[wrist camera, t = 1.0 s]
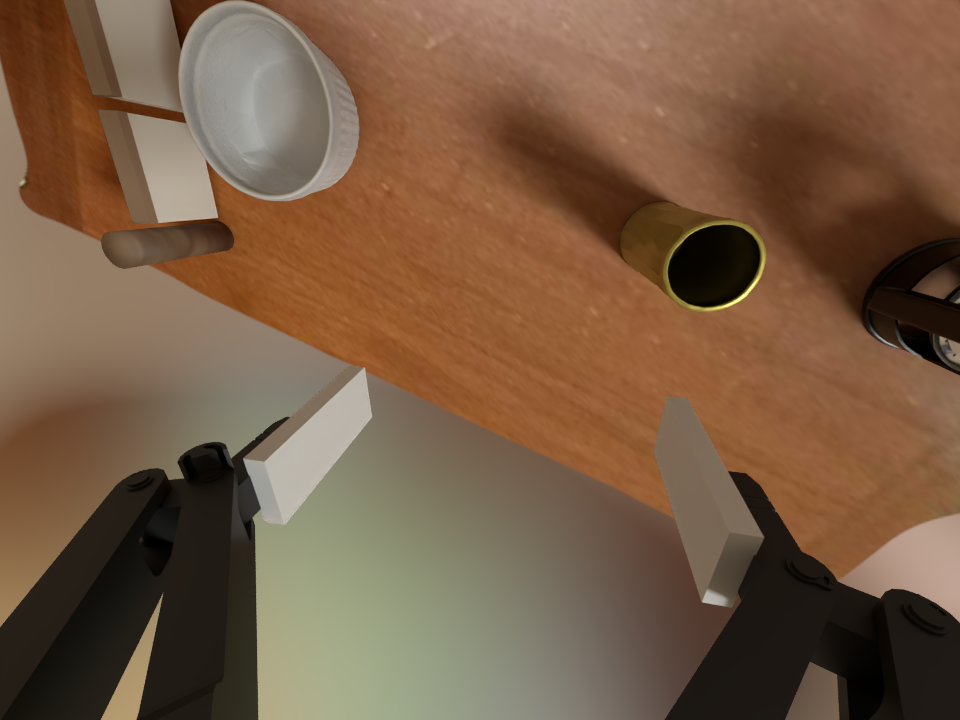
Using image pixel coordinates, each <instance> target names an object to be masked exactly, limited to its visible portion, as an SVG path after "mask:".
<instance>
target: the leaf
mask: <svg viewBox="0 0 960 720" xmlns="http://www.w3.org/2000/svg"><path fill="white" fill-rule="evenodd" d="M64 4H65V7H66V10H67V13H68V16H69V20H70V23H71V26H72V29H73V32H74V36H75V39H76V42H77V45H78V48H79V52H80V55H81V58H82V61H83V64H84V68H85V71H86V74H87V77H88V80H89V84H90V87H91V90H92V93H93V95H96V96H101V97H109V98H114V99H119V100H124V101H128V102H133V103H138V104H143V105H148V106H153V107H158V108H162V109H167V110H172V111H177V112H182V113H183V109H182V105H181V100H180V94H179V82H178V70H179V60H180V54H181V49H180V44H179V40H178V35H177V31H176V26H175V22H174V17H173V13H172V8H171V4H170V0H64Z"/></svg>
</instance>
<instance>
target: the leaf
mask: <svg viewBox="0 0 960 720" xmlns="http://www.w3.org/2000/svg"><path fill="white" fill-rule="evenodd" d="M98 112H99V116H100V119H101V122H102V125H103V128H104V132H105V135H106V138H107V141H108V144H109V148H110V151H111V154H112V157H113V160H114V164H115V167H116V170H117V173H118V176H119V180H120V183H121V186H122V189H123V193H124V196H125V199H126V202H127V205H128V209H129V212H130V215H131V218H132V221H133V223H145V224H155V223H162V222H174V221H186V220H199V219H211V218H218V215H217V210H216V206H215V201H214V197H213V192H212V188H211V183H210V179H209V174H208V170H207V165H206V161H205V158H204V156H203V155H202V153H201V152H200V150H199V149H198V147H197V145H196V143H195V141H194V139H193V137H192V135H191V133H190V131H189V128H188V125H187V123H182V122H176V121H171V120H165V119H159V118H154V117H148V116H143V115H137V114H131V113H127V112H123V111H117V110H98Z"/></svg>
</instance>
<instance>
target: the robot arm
mask: <svg viewBox="0 0 960 720" xmlns="http://www.w3.org/2000/svg"><path fill="white" fill-rule="evenodd" d="M371 418H372V414H371V407H370V400H369V394H368V387H367V380H366V374H365V367H356V366H349V367H348V368H347V369H345V370H344V371H343V372H342V373H341V374H340V375H338V376H337V377H336V378H335V379H334V380H333V381H332V382H330V383H329V384H328V385H327V386H326V387H325V388H323V389H322V390H321V391H320V392H319V393H318V394H317V395H316V396H314V397H313V398H312V399H311V400H310V401H309V402H308V403H306V404H305V405H304V406H303V407H302V408H301V409H299V410H298V411H297V412H296V413H295V414H294V415H292V416H291V417H285V418H283V419H281V420H279V421H277V422H275V423H273V424H272V425H271V426H270V427H268V428H267V429H266V430H265V431H264V432H263V434H260V435H259V436H258V437H256V438H255V440H253V441H252V442H251V443H249V444H248V445H247V446H246V447H245V448H243V449H242V450H241V451H240V452H239V453H237V454H236V455H235V456H234V457H233V458H232V459H231V458H230V455H229V452H228V450H227V447H226V445H225V444H223V443H221V442H211V443H205V444H202V445H199V446H196V447H194V448H192V449H190V450H188V451H187V452H186V453H184V454H183V455H182V456H181V457H180V458H179V460H178V465H179V467H180V469H181V471H182V473H183V476H184V479H174V480H168V478H167V476H166V474H165V472H164V470H162V469H159V468H156V469H148V470H143V471H139V472H137V473H134V474H132V475H130V476H129V477H127V478H125V479H124V480H122V481H121V482H120V483H118V484H117V485H116V486H115V488H114V489H113V490H112V491H111V492H110V494H109V495H108V496H107V497H106V498H105V500H104V501H103V502H102V503H101V505H100V506H99V507H98V508H97V509H96V511H95V512H94V513H93V514H92V516H91V517H90V518H89V519H88V521H87V522H86V523H85V524H84V525H83V527H82V528H81V529H80V530H79V531H78V533H77V534H76V535H75V536H74V538H73V539H72V540H71V541H70V543H69V544H68V545H67V546H66V547H65V549H64V550H63V551H62V552H61V554H60V555H59V556H58V557H57V558H56V560H55V561H54V562H53V563H52V565H51V566H50V567H49V568H48V569H47V571H46V572H45V573H44V574H43V576H42V577H41V578H40V579H39V581H38V582H37V583H36V584H35V585H34V587H33V588H32V589H31V590H30V591H29V593H28V594H27V595H26V596H25V598H24V599H23V600H22V601H21V602H20V604H19V605H18V606H17V607H16V609H15V610H14V611H13V612H12V613H11V615H10V616H9V617H8V618H7V620H6V621H5V622H4V623H3V625H2V626H1V627H0V720H101V718H102V716H103V714H104V712H105V710H106V708H107V706H108V704H109V702H110V700H111V698H112V695H113V694H114V692H115V690H116V688H117V686H118V683H119V681H120V679H121V677H122V675H123V673H124V671H125V669H126V667H127V665H128V663H129V661H130V659H131V657H132V655H133V653H134V651H135V649H136V647H137V645H138V643H139V641H140V639H141V637H142V635H143V633H144V631H145V629H146V627H147V624H148V622H149V620H150V618H151V616H152V614H153V612H154V610H155V608H156V606H157V604H158V602H159V600H160V598H161V596H162V594H163V598H162V603H161V608H160V613H159V617H158V622H157V627H156V632H155V637H154V642H153V647H152V651H151V656H150V661H149V666H148V670H147V675H146V680H145V685H144V690H143V695H142V700H141V704H140V709H139V713H138V717H137V720H258V685H257V684H258V682H257V628H256V627H257V623H256V562H255V524H254V521H253V519H252V517H253V516H254V515H255V514H256V513H257V512H258V511H259V510H261V513H262V515H263V518H264V521H265V522H269V523H275V524H280V525H285V524H286V522H287V521H288V520H289V519H290V518H291V517H292V515H293V514H294V513H295V512H296V510H297V509H298V508H299V507H300V505H301V504H302V503H303V502H304V500H305V499H306V498H307V497H308V495H309V494H310V493H311V492H312V491H313V489H314V488H315V487H316V486H317V484H318V483H319V482H320V481H321V479H322V478H323V477H324V476H325V474H326V473H327V472H328V471H329V470H330V468H331V467H332V466H333V465H334V463H335V462H336V461H337V460H338V458H339V457H340V456H341V455H342V453H343V452H344V451H345V450H346V448H347V447H348V446H349V445H350V444H351V442H352V441H353V440H354V438H355V437H356V436H357V435H358V434H359V433H360V431H361V430H362V429H363V428H364V426H365V425H366V424H367V423H368V421H369V420H370V419H371ZM654 454H655V457H656V460H657V463H658V467H659V470H660V473H661V476H662V479H663V482H664V485H665V488H666V492H667V495H668V498H669V501H670V504H671V507H672V510H673V513H674V517H675V520H676V523H677V526H678V529H679V532H680V535H681V539H682V541H683V544H684V548H685V551H686V554H687V557H688V560H689V564H690V567H691V570H692V573H693V576H694V579H695V582H696V585H697V588H698V592H699V595H700V598H701V601H702V602H704V603H710V604H715V605H721V606H726V607H731V608H732V607H733V605H734V602H735V600H736V598H737V595H738V594H739V596H740V599H741V603H740V604H739V606H738V607H737V609H736V610H735V612H734V613H733V615H732V617H731V618H730V620H729V621H728V623H727V624H726V626H725V627H724V629H723V630H722V632H721V634H720V635H719V637H718V638H717V640H716V641H715V643H714V644H713V646H712V647H711V649H710V651H709V652H708V654H707V655H706V657H705V658H704V660H703V661H702V663H701V664H700V666H699V667H698V669H697V671H696V672H695V674H694V675H693V677H692V678H691V680H690V682H689V683H688V684H687V686H686V688H685V689H684V691H683V692H682V694H681V695H680V697H679V698H678V700H677V702H676V703H675V705H674V706H673V708H672V709H671V711H670V712H669V714H668V715H667V717H666V719H665V720H785V718H786V716H787V713H788V711H789V709H790V706H791V704H792V702H793V699H794V697H795V695H796V692H797V690H798V687H799V685H800V683H801V681H802V678H803V676H804V674H805V671H806V669H807V667H808V664H809V662H812V663H814V664H816V665H818V666H820V667H822V668H824V669H827V670H829V671H831V672H833V673H835V674H837V680H838V699H839V717H840V720H960V623H959V622H958V621H957V620H956V619H955V618H954V617H953V616H952V615H951V614H950V613H949V612H947V611H946V610H944V609H943V608H942V607H940V606H939V605H937V604H936V603H934V602H932V601H930V600H929V599H927V598H925V597H923V596H920V595H919V594H915V593H913V592H910V591H907V590H901V589H891V590H889V591H886V592H885V593H884V594H883V596H882V597H881V599H880V598H877V597H875V596H872V595H869V594H867V593H864V592H862V591H859V590H856V589H854V588H851V587H849V586H846V585H844V584H842V583H840V582H837V580H836V578H835V576H834V575H833V574H832V573H831V571H830V570H829V569H828V568H827V567H826V566H825V565H823V564H822V563H821V562H819V561H818V560H816V559H815V558H813V557H812V556H810V555H807V554H805V553H803V552H802V551H801V550H800V548H799V546H798V545H797V543H796V542H795V540H794V539H793V537H792V535H791V534H790V532H789V531H788V529H787V527H786V526H785V524H784V523H783V521H782V520H781V518H780V516H779V515H778V513H777V512H775V508H774V507H773V505H772V504H771V502H770V501H768V497H767V496H766V494H765V493H764V491H763V489H762V488H761V486H760V485H759V484H758V483H756V482H755V481H754V480H753V479H752V478H751V477H750V476H748V475H747V474H746V473H739V472H731V471H727V469H726V467H725V465H724V464H723V462H722V460H721V458H720V456H719V454H718V453H717V451H716V449H715V447H714V445H713V444H712V442H711V440H710V438H709V436H708V434H707V433H706V431H705V429H704V427H703V425H702V424H701V422H700V420H699V418H698V416H697V414H696V413H695V411H694V409H693V407H692V405H691V404H690V402H689V400H688V398H683V397H672V396H667V397H666V401H665V406H664V410H663V414H662V418H661V422H660V426H659V430H658V434H657V438H656V442H655V447H654ZM163 592H164V593H163Z"/></svg>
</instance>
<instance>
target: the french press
mask: <svg viewBox="0 0 960 720" xmlns="http://www.w3.org/2000/svg"><path fill="white" fill-rule="evenodd" d="M959 256H960V238H949V239H943V240H937V241H933V242H930V243H927V244H924V245H921V246H919V247H917V248H914V249H912V250H910V251H908V252H906V253H905V254H903V255H901V256H900V257H898V258H897V259H895V260H894V261H893V262H891V263H890V264H889V265H888V266H887V267H886V268H884V269H883V270H882V271H881V272H880V274H879V275H878V276H877V277H876V278H875V279H874V281H873V282H872V284H871V286H870V287H869V289H868V291H867V293H866V296H865V298H864V301H863V308H862V314H863V321H864V323H865V326H866V328H867V330H868V331H869V332H870V333H871V335H872V336H873V337H874V338H876V339H877V340H878V341H880V342H881V343H884V344H886V345H888V346H891V347H893V348H898V349H903V350H905V351H907V352H910V353H912V354H914V355H916V356H919V357H921V358H923V359H926V360H928V361H930V362H932V363H934V364H936V365H939V366H941V367H943V368H945V369H947V370H949V371H952V372H954V373H956V374H958V375H960V286H958V287H957V288H956V289H954V290H953V291H952V292H951V293H950V294H949V295H948V296H947V297H946V298H945V299H944V300H943V299H940V298H936V297H933V296H929V295H926V294H922V293H919V292H915V291H912V289H913V287H914V286H915V285H916V284H917V283H918V282H919V281H920V280H921V279H922V278H924V277H925V276H926V275H927V274H929V273H930V272H931V271H933V270H934V269H936V268H937V267H939V266H941V265H942V264H944V263H946V262H948V261H950V260H952V259H955V258H957V257H959ZM898 320H899V321H902V322H904V323H907V324H910V325H912V326H915V327H917V328H920V329H923V330H925V331H928V332H929V333H930V335H927V336H909V335H904V334H901V333H899V331H898V322H897V321H898Z"/></svg>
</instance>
